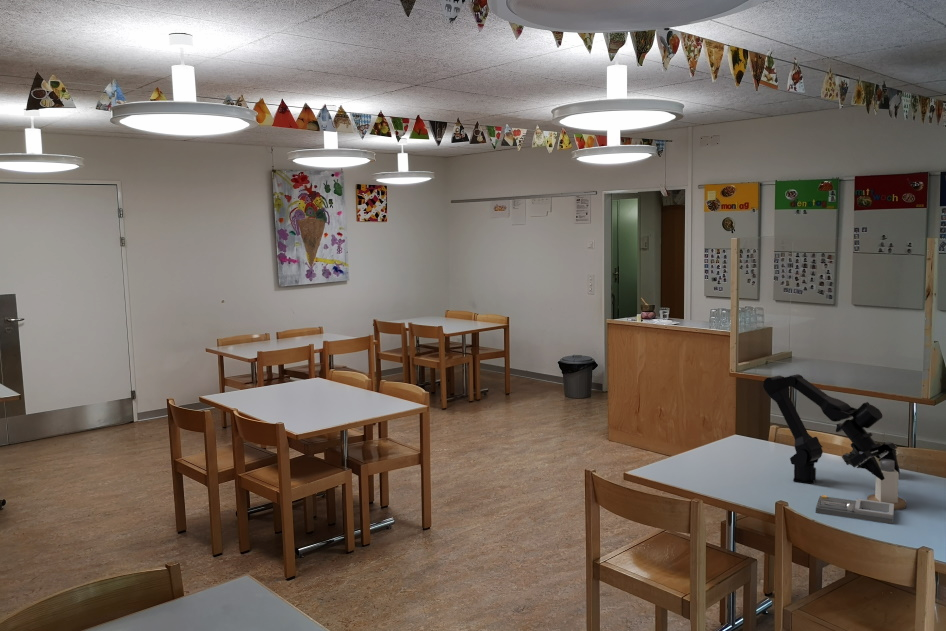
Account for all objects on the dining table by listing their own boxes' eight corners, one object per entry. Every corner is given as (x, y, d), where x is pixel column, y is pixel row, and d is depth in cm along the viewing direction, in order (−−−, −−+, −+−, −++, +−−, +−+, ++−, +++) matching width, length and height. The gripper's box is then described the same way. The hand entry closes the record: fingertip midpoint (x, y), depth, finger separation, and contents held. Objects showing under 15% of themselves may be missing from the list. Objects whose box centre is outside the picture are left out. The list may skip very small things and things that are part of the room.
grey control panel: (815, 512, 234) (815, 504, 234) (819, 500, 244) (820, 492, 244) (892, 524, 223) (893, 515, 223) (893, 510, 234) (894, 502, 233)
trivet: (866, 506, 238) (866, 502, 238) (868, 495, 247) (868, 492, 247) (905, 511, 232) (906, 508, 232) (906, 500, 242) (906, 497, 242)
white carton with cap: (880, 502, 238) (881, 462, 236) (875, 496, 243) (876, 458, 241) (897, 502, 237) (898, 463, 235) (891, 497, 242) (892, 458, 240)
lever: (817, 512, 234) (817, 500, 234) (818, 510, 236) (818, 498, 235) (852, 517, 229) (853, 504, 229) (853, 515, 231) (853, 503, 230)
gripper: (857, 444, 256) (888, 483, 248) (825, 453, 246) (856, 495, 238) (880, 426, 249) (913, 466, 241) (849, 435, 239) (882, 477, 231)
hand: (891, 476), depth 238 cm, fingers open, 9 cm apart
